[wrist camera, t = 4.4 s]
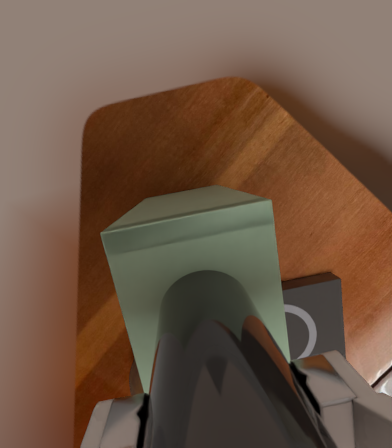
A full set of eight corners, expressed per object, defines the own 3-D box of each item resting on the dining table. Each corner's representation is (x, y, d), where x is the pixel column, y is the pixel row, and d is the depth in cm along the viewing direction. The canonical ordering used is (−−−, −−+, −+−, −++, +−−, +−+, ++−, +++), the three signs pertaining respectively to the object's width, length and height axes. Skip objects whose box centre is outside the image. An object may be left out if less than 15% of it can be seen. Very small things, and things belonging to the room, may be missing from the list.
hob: (218, 380, 32) (221, 395, 30) (202, 298, 30) (204, 308, 27) (336, 355, 33) (347, 368, 30) (330, 271, 30) (342, 279, 28)
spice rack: (164, 282, 29) (148, 411, 13) (145, 198, 27) (99, 233, 11) (231, 268, 29) (293, 379, 13) (217, 184, 27) (271, 199, 11)
